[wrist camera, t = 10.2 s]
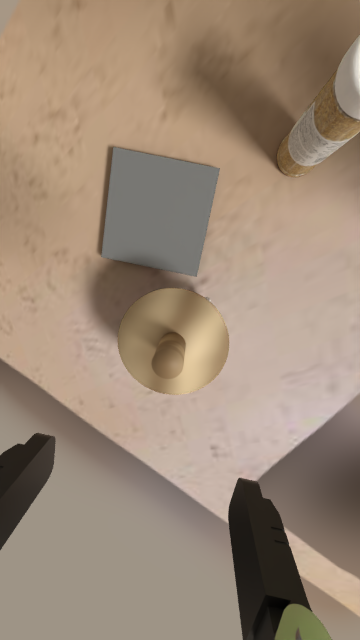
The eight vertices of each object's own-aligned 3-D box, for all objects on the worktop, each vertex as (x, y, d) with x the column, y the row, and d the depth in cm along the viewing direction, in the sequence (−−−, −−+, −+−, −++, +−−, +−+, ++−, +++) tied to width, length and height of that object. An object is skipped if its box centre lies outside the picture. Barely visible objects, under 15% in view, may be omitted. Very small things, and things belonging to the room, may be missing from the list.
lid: (240, 300, 25) (253, 311, 19) (214, 400, 28) (219, 435, 22) (127, 277, 25) (107, 282, 19) (114, 379, 28) (93, 409, 22)
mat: (219, 171, 27) (219, 168, 26) (196, 276, 30) (196, 276, 29) (116, 150, 27) (113, 146, 26) (104, 257, 30) (101, 257, 29)
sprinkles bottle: (314, 126, 25) (440, -15, 12) (320, 172, 26) (442, 86, 13) (271, 140, 26) (349, 19, 13) (278, 184, 27) (357, 113, 14)
